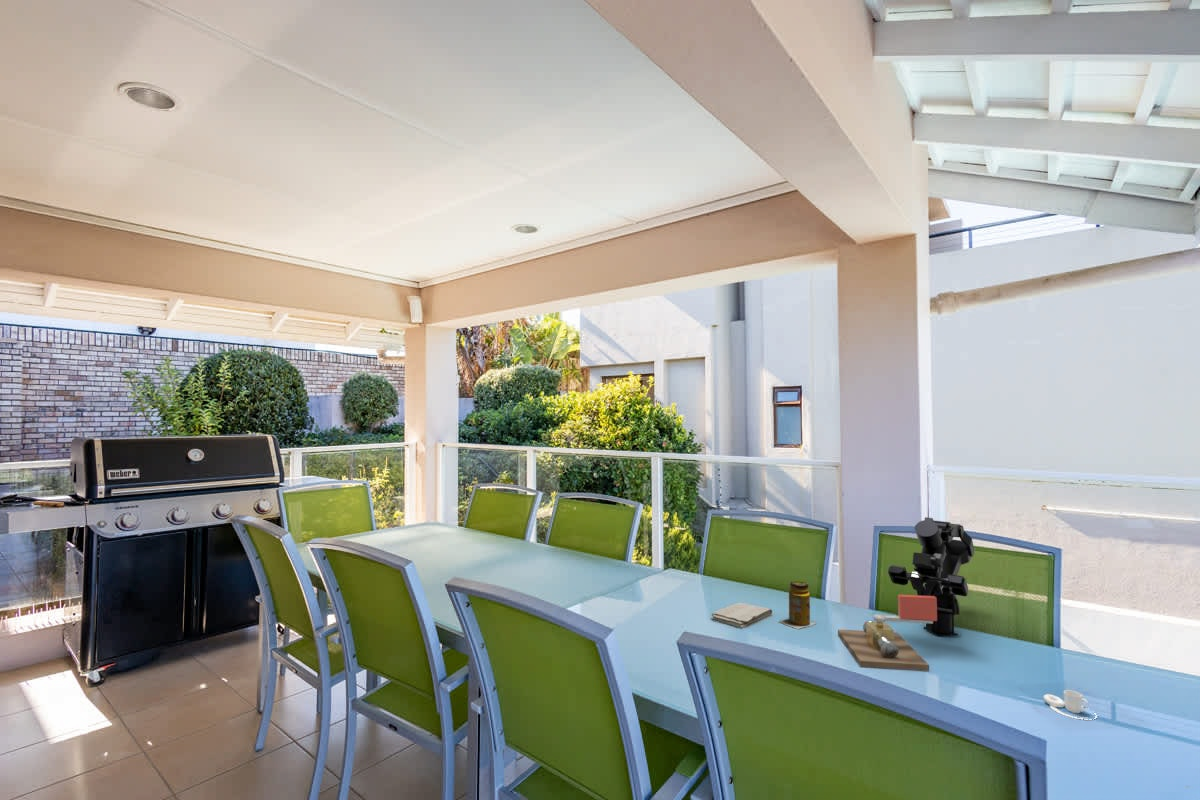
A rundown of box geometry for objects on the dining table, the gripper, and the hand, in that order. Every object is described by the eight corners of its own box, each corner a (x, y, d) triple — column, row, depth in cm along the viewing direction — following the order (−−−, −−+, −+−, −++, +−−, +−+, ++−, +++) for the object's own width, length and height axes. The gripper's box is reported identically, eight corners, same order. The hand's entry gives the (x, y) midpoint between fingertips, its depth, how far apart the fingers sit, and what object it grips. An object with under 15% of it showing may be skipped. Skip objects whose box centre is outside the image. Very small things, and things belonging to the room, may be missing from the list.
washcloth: (709, 621, 180) (709, 611, 180) (739, 608, 192) (739, 598, 193) (743, 631, 171) (743, 620, 171) (773, 616, 184) (773, 606, 184)
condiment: (816, 624, 176) (815, 584, 176) (798, 629, 171) (797, 588, 172) (796, 617, 182) (795, 578, 183) (778, 622, 178) (777, 582, 178)
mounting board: (838, 634, 167) (837, 629, 167) (897, 637, 165) (897, 632, 165) (860, 667, 145) (860, 660, 146) (929, 671, 143) (929, 664, 143)
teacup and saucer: (1036, 702, 128) (1036, 683, 128) (1070, 701, 129) (1069, 682, 129) (1072, 723, 119) (1071, 703, 120) (1108, 721, 120) (1107, 701, 120)
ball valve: (860, 634, 163) (860, 611, 164) (880, 635, 163) (880, 612, 163) (879, 657, 148) (879, 631, 148) (901, 658, 147) (900, 632, 147)
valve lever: (875, 621, 154) (875, 596, 154) (872, 618, 157) (871, 592, 157) (938, 625, 152) (937, 598, 152) (933, 621, 155) (933, 595, 155)
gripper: (889, 536, 167) (876, 583, 158) (964, 546, 154) (955, 597, 145) (898, 559, 172) (886, 605, 164) (972, 570, 159) (963, 621, 151)
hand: (921, 607), depth 156 cm, fingers closed
